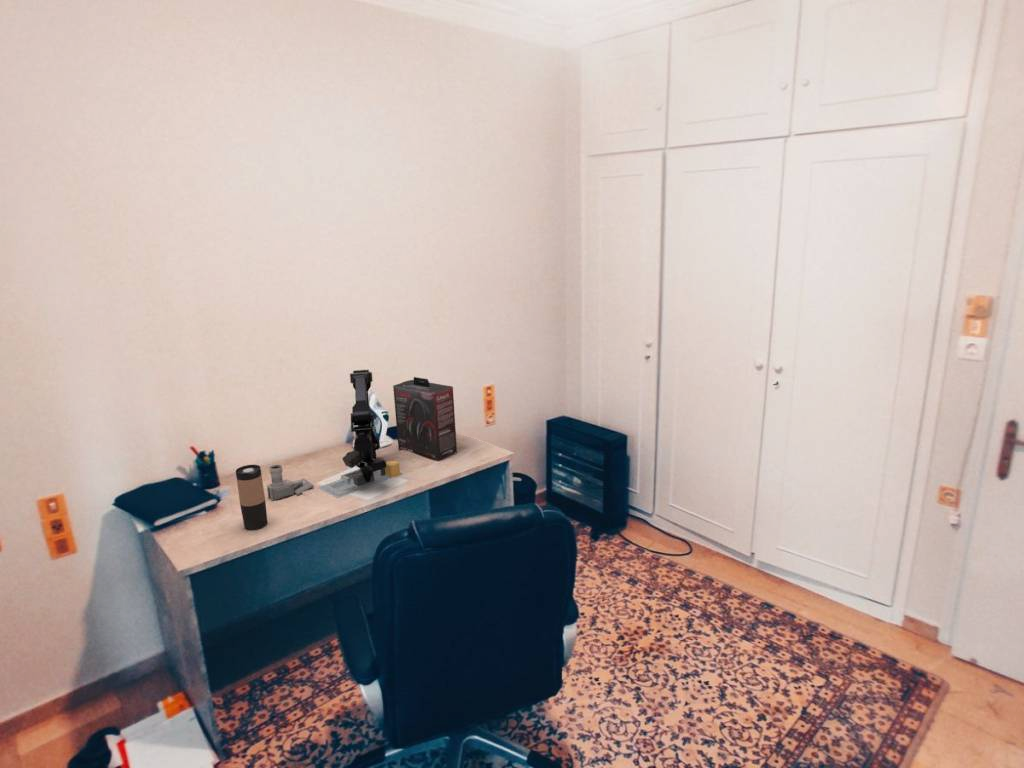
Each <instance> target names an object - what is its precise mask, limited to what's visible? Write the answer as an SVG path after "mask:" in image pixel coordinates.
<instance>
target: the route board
mask: <svg viewBox="0 0 1024 768" xmlns="http://www.w3.org/2000/svg"><path fill="white" fill-rule="evenodd" d="M373 473H374V481H372V482H369V483H366V484H363V485H359V486H357V485H355V484H354V480H353V479H350V485H347V484H345V485H343V486H340V487H337V488H335V489H337V490H341V489H344V488H347V487H350V486H352V485H355V487H356V490H354V491H352V492H349V493H346V494H344V495H341V496H336V495H335V494H333V493H331V492H329V491H327V490H326V486H327V485H330V484H333V483H335V482H338V481H341V478H340V479H338V480H335V481H332V482H329V483H327V484H324V485H321V486H317V489H319V490H321V491H323V492H325V493H327V494H329V495H331V496H332V497H334V498H336V499H339V498H341V497H344V496H347V495H350V494H353V493H355V492H358V491H361V490H363V489H366V488H369V487H371V486H374V485H377V484H379V483H383V482H385V481H387V480H390V479H392V478H390V477H388V476H386V475H385V468H383V469H380V470H378V471H375V472H373ZM400 475H404V473H402V472H400ZM400 475H398V476H400ZM398 476H397V477H398Z"/></svg>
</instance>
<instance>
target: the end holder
mask: <svg viewBox="0 0 1024 768" xmlns="http://www.w3.org/2000/svg"><path fill="white" fill-rule="evenodd" d="M337 481H338V480H337ZM334 482H335V481H334ZM343 485H345V480H341V481H338V482H335V483H333V484H330V485H327V486H326V490H327V491H329V492H331V493H333V494H335V495H336V496H341V495H344V494H346V493H349V492H352V491H354V490H356V487H355V485H352V486H350V487H347V488H344V489H341V490H337V489H335V488H337V487H340V486H343Z"/></svg>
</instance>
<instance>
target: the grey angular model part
mask: <svg viewBox="0 0 1024 768" xmlns="http://www.w3.org/2000/svg"><path fill="white" fill-rule="evenodd" d="M269 474H270V476H271V477H270V479H271V483H269V484H267V485H266V490H267V498H268V499H270V500H271V501H272V502H273V501H275V500H276V501H277V500H280V499H284V498H287V497H292V496H294V494H295V495H296V496H299V495H301V494H303V492H306V491H308V490H310V489H311V488H312V487H314V486H315V485H314V484H312V483H311V482H310V481H308V480H306V479H305V478H304V477H303V478H301V479H296V480H293V481H292V480H289V479H283V465H282V464H272V465H270V466H269Z"/></svg>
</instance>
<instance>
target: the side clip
mask: <svg viewBox="0 0 1024 768" xmlns="http://www.w3.org/2000/svg"><path fill="white" fill-rule="evenodd" d="M359 474H362V472H361V470H360V468H358V469H355V470H353V471H350V472H346V473H344V474H340V479H341V480H345V484H347V485H350V479H353V476H356V475H359Z"/></svg>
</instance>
